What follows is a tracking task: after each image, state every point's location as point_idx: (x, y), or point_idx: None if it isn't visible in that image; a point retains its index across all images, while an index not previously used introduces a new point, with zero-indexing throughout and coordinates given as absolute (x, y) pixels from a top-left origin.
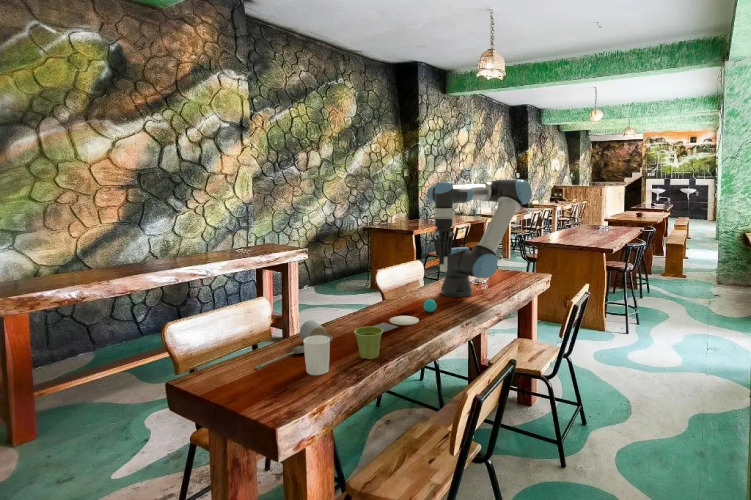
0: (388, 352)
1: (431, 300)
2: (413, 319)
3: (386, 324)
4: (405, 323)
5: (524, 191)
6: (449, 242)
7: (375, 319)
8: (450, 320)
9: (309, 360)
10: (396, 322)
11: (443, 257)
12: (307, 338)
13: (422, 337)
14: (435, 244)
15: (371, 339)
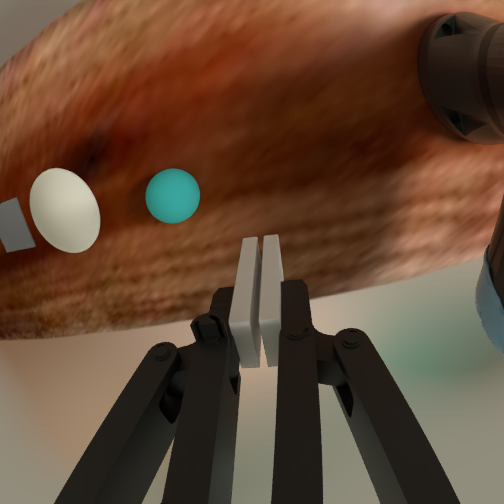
0: (6, 322)
1: (164, 215)
2: (85, 224)
3: (17, 215)
4: (55, 238)
5: None
6: (378, 485)
7: (10, 155)
8: (176, 292)
9: None
10: (39, 217)
11: (237, 355)
12: None
13: (62, 320)
14: (90, 462)
15: None
